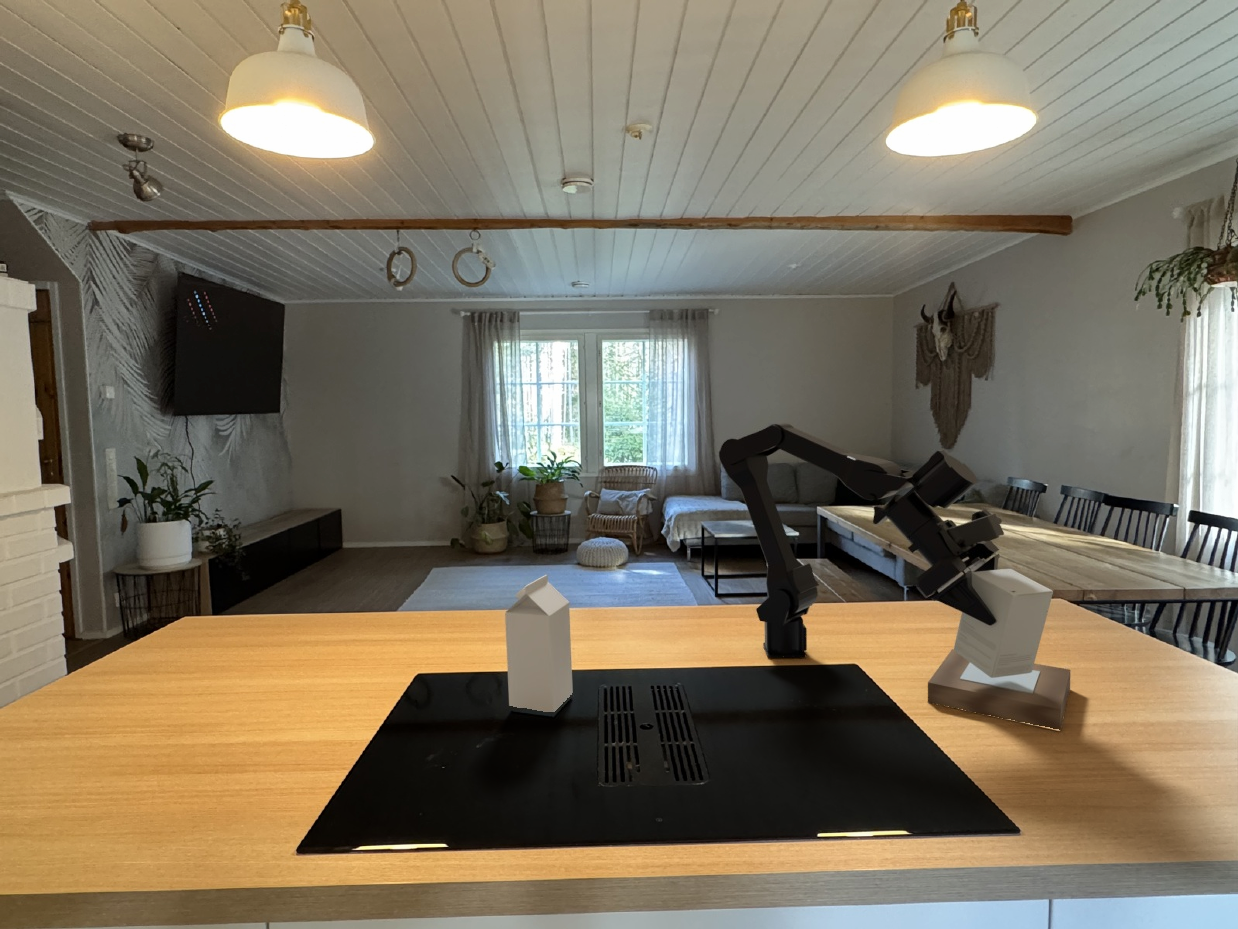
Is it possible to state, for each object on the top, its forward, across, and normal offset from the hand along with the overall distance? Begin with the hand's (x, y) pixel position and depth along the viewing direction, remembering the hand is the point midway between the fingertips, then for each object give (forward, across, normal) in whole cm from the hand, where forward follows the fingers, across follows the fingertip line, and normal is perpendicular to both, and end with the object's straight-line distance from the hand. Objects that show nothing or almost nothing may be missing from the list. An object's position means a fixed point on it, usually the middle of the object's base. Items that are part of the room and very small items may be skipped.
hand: (1003, 615), depth 93 cm
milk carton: (-26, -42, +46) cm, 67 cm away
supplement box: (+4, 0, +6) cm, 7 cm away
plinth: (+8, +4, +10) cm, 14 cm away
